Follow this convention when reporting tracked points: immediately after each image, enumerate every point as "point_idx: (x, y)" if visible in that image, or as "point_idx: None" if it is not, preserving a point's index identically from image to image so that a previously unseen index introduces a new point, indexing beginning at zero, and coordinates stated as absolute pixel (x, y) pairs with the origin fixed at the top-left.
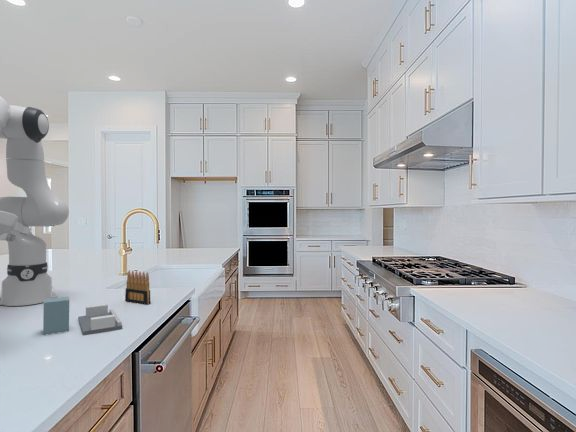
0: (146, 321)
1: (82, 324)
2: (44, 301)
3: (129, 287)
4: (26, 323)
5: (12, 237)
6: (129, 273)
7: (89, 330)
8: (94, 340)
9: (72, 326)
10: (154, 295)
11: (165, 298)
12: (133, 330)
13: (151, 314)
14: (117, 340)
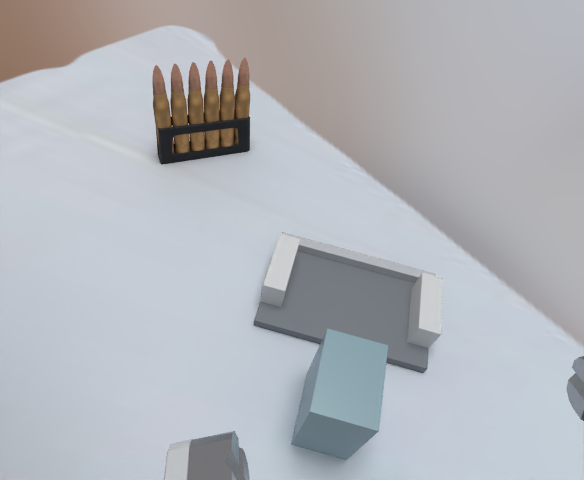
0: (402, 220)
1: None
2: (354, 421)
3: (170, 121)
4: (151, 465)
5: (234, 470)
6: (162, 77)
7: (427, 351)
8: (485, 367)
9: None
10: None
11: None
12: (457, 271)
13: (349, 186)
14: (515, 328)
